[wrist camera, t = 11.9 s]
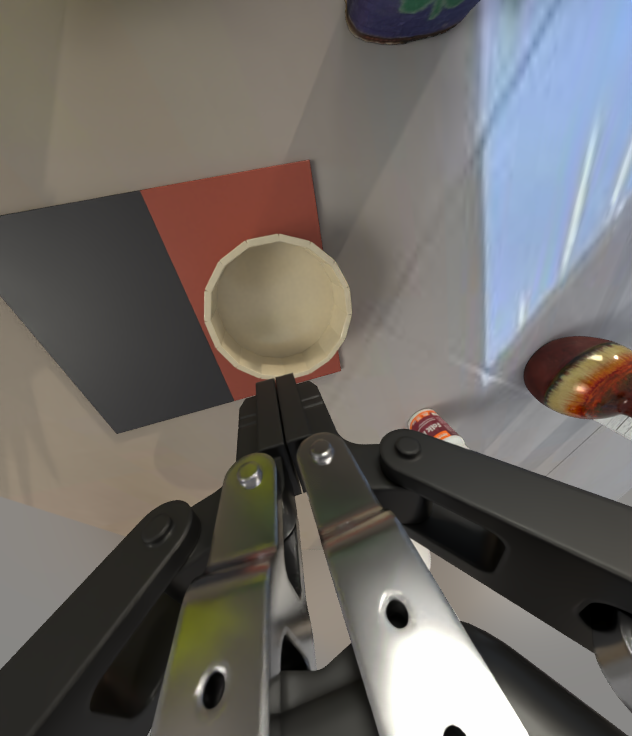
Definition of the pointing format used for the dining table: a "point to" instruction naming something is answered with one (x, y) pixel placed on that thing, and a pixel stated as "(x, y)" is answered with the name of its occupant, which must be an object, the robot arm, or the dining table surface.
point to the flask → (403, 18)
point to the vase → (582, 377)
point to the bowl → (277, 306)
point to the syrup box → (618, 425)
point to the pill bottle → (434, 427)
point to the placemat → (147, 286)
